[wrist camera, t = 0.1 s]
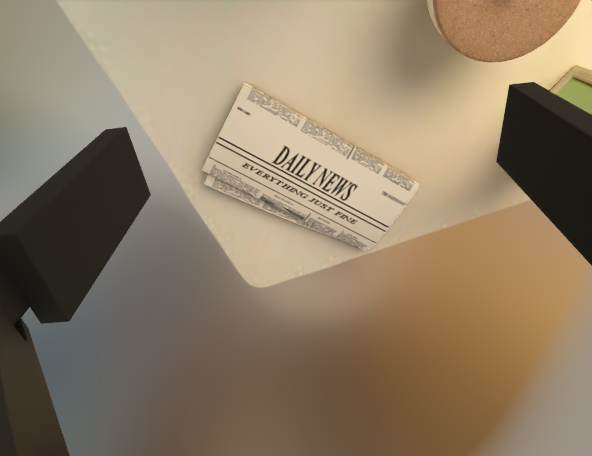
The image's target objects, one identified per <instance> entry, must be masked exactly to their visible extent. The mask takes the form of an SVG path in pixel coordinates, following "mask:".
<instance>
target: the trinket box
mask: <svg viewBox="0 0 592 456" xmlns="http://www.w3.org/2000/svg"><path fill="white" fill-rule="evenodd" d="M580 1H581V0H427V5H428V11H429V14H430V17H431V19H432V21H433V23H434V25H435V27H436V29H437V30H438V32H439V33H440V34H441V35H442V37H443V38H444V39H445V40H446V41H447V42H448V43H449V44H450V45H451V46H452V47H453V48H454V49H456V50H457V51H458V52H460V53H461V54H463V55H465V56H467V57H469V58H471V59H474V60H477V61H483V62H502V61H507V60H512V59H515V58H518V57H521V56H523V55H525V54H527V53H529V52H531V51H533V50H535V49H536V48H538V47H539V46H541V45H542V44H544V43H545V42H546V41H548V40H549V39H550V38H551V37H552V36H554V35H555V34H556V33H557V32H558V31H559V30H560V29H561V27H562V26H563V25H564V24H565V23H566V22H567V20H568V19H569V18H570V16H571V15H572V14H573V12H574V11H575V9H576V7H577V6H578V4H579V2H580Z"/></svg>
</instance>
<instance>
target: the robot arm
mask: <svg viewBox="0 0 592 456" xmlns="http://www.w3.org/2000/svg"><path fill="white" fill-rule="evenodd" d="M496 162H497V163H498V164H499V165H500V166H501V167H502V168H503V169H504V170H505V172H506V173H507V174H508V175H509V176H510V177H511V178H512V179H513V180H514V181H515V182H516V183H517V185H518V186H519V187H520V188H521V189H522V190H523V191H524V192H525V193H526V194H527V195H528V197H529V198H530V199H531V200H532V201H533V202H534V203H535V204H536V205H537V206H538V207H539V209H540V210H541V211H542V212H543V213H544V214H545V215H546V216H547V217H548V218H549V219H550V221H551V222H552V223H553V224H554V225H555V226H556V227H557V228H558V229H559V230H560V231H561V233H563V235H564V236H565V237H566V238H567V239H568V240H569V241H570V242H571V243H572V244H573V246H574V247H575V248H576V249H577V250H578V251H579V252H580V253H581V254H582V255H583V257H584V258H585V259H586V260H587V261H588V262H589V263H590V264H591V265H592V115H591V114H590V113H588V112H586V111H584V110H582V109H581V108H579V107H577V106H575V105H574V104H572V103H570V102H568V101H566V100H565V99H563V98H561V97H559V96H558V95H556V94H554V93H552V92H550V91H549V90H547V89H545V88H543V87H542V86H540V85H538V84H536V83H534V82H530V83H521V84H512V85H509V90H508V96H507V102H506V108H505V114H504V120H503V126H502V132H501V137H500V143H499V149H498V155H497V161H496ZM150 195H151V194H150V191H149V189H148V186H147V183H146V180H145V178H144V175H143V172H142V170H141V167H140V164H139V161H138V158H137V155H136V153H135V150H134V147H133V145H132V142H131V139H130V136H129V133H128V131H127V128H126V127H123V128H114V129H106V130H105V131H103V132H102V133H101V134H100V135H99V136H98V137H97V138H95V140H93V141H92V142H91V143H90V144H89V145H88V146H87V147H85V148H84V149H83V150H82V151H81V152H79V153H78V154H77V155H76V156H75V157H74V158H73V159H71V160H70V161H69V162H68V163H67V164H66V165H65V166H63V167H62V168H61V169H60V170H59V171H58V172H57V173H55V174H54V175H53V176H52V177H51V178H50V179H49V180H48V181H46V182H45V183H44V184H43V185H42V186H41V187H40V188H38V189H37V190H36V191H35V192H34V193H33V194H32V195H30V196H29V197H28V198H27V199H26V200H25V201H24V202H23V203H21V204H20V205H19V206H18V207H17V208H16V209H15V210H13V211H12V212H11V213H10V214H9V215H8V216H7V217H5V218H4V219H3V220H2V221H1V222H0V456H70V455H69V452H68V450H67V446H66V443H65V440H64V437H63V434H62V431H61V428H60V425H59V422H58V418H57V416H56V412H55V409H54V406H53V403H52V400H51V397H50V394H49V391H48V388H47V385H46V381H45V378H44V375H43V372H42V369H41V366H40V363H39V360H38V357H37V354H36V351H35V348H34V345H33V342H32V339H31V335H30V332H29V329H28V327H27V326H26V324H25V323H24V322H23V320H22V319H21V317H22V316H23V315H24V313H25V312H26V311H27V309H28V308H29V307H31V309H32V311H33V312H34V314H35V315H36V317H37V318H38V320H39V321H40V322H41V323H52V322H68V321H70V319H71V318H72V316H73V315H74V313H75V311H76V310H77V308H78V307H79V305H80V304H81V302H82V301H83V299H84V298H85V296H86V294H87V293H88V291H89V290H90V288H91V287H92V285H93V284H94V282H95V280H96V279H97V277H98V276H99V274H100V273H101V271H102V270H103V268H104V266H105V265H106V263H107V262H108V260H109V259H110V257H111V256H112V254H113V253H114V251H115V249H116V248H117V246H118V245H119V243H120V242H121V240H122V238H123V237H124V235H125V234H126V232H127V231H128V229H129V228H130V226H131V225H132V223H133V221H134V220H135V218H136V217H137V215H138V214H139V212H140V210H141V209H142V207H143V206H144V204H145V203H146V201H147V200H148V198H149V196H150Z"/></svg>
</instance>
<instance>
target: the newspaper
mask: <svg viewBox="0 0 592 456" xmlns="http://www.w3.org/2000/svg"><path fill="white" fill-rule="evenodd" d="M202 171H204V172H206V173H208V176H207V179H206V181H205V183H204V185H206V186H208V187H211V188H213V189H215V190H218V191H220V192H222V193H225V194H227V195H229V196H232V197H234V198H237V199H239V200H241V201H244V202H246V203H248V204H251V205H253V206H255V207H258V208H260V209H262V210H265V211H267V212H269V213H272V214H274V215H277V216H279V217H281V218H284V219H286V220H288V221H291V222H293V223H296V224H299V225H301V226H304V227H307V228H309V229H312V230H315V231H317V232H320V233H323V234H325V235H328V236H331V237H333V238H336V239H339V240H341V241H344V242H347V243H349V244H351V245H353V246H355V247H357V248H359V249H361V250H363V251H365V252H367V251H368V250H370V249H372V248H373V247H374V246H375V244H376V243H377V242H378V241H379V240H380V238H381V237H382V236H383V235H384V234H385V232H386V231H387V230H388V229H389V228H390V226H391V225H392V224H393V222H394V221H395V220H396V218H397V217H398V216H399V215H400V213H401V212H402V211H403V209H404V208H405V207H406V205H407V204H408V203H409V201H410V200H411V199H412V197H413V196H414V195H415V193H416V192H417V190H418V188H419V187H420V184H419V183H418V182H416V181H414V180H413V179H411V178H409V177H407V176H406V175H404V174H402V173H401V172H399V171H397V170H395V169H394V168H392V167H390V166H388V165H387V164H385V163H383V162H382V161H380V160H378V159H376V158H375V157H373V156H371V155H369V154H368V153H366V152H364V151H363V150H361V149H359V148H357V147H356V146H354V145H352V144H350V143H349V142H347V141H345V140H344V139H342V138H340V137H338V136H337V135H335V134H333V133H331V132H330V131H328V130H326V129H325V128H323V127H321V126H319V125H318V124H316V123H314V122H312V121H311V120H309V119H307V118H306V117H304V116H302V115H300V114H299V113H297V112H295V111H293V110H292V109H290V108H288V107H287V106H285V105H283V104H281V103H280V102H278V101H276V100H274V99H273V98H271V97H269V96H268V95H266V94H264V93H262V92H261V91H259V90H257V89H255V88H254V87H252V86H250V85H249V84H247V83H244V85H243V87H242V89H241V91H240V93H239V95H238V97H237V99H236V101H235V103H234V105H233V107H232V109H231V111H230V113H229V115H228V117H227V119H226V121H225V123H224V125H223V127H222V129H221V131H220V133H219V136H218V138H217V140H216V142H215V144H214V146H213V148H212V150H211V152H210V154H209V156H208V158H207V160H206V162H205V164H204V166H203V168H202Z"/></svg>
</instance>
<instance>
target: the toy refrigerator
mask: <svg viewBox="0 0 592 456" xmlns="http://www.w3.org/2000/svg"><path fill="white" fill-rule="evenodd" d="M550 92H552V93H554V94H556V95H558V96H559V97H561V98H563V99H565V100H566V101H568V102H570V103H572V104H574V105H575V106H577V107H579V108H581V109H582V110H584V111H586V112H588V113H590V114H591V115H592V70H589V69H586V68H584V67H581V66H575V67H574V68H572V69H571V70H570V71H569V72H568V73H567V74H566V75H565V76H564V77H563V78H562V79H561V80H560V81H559V82H558V83H557V84H556V85H555V86H554V87H553V88H552V89H551V90H550Z"/></svg>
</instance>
